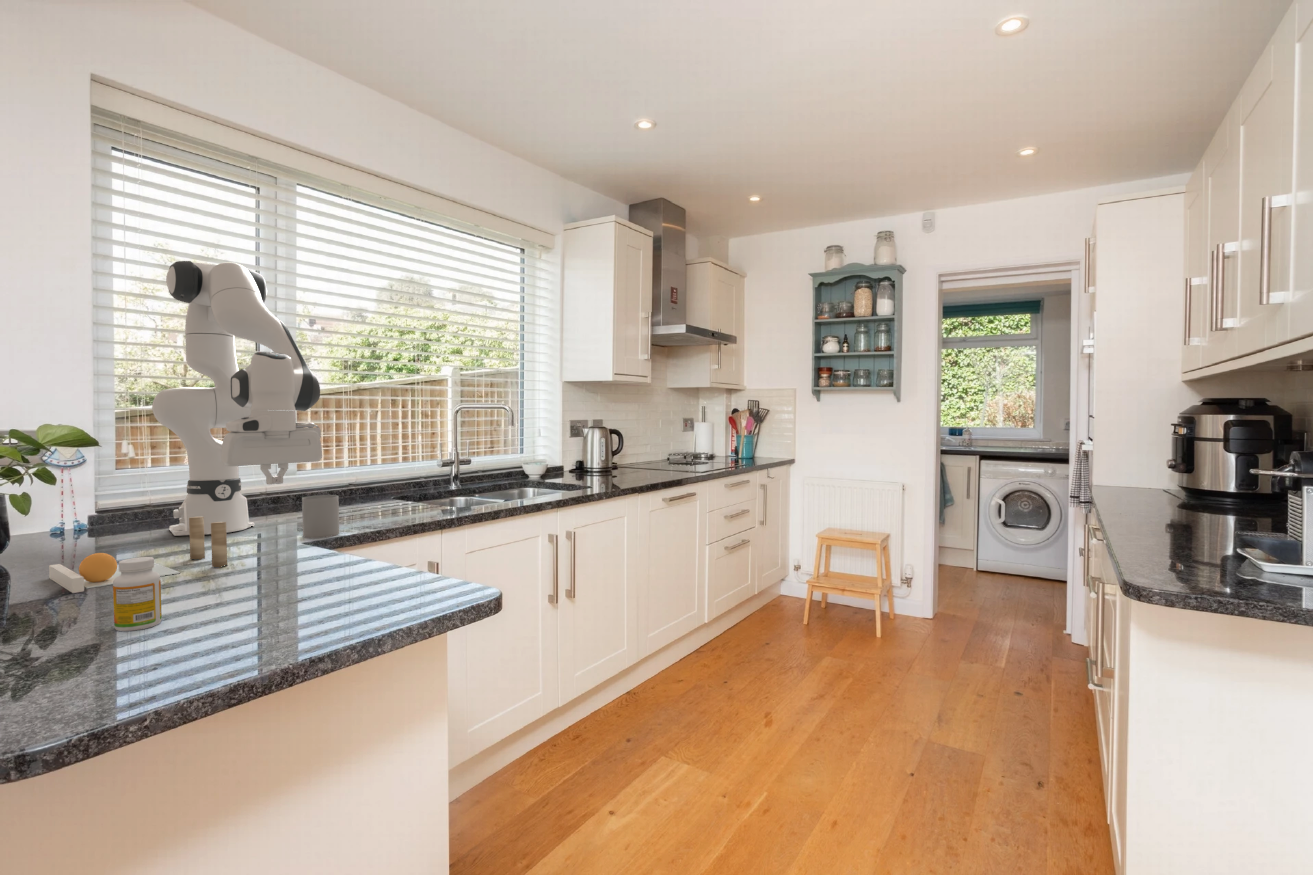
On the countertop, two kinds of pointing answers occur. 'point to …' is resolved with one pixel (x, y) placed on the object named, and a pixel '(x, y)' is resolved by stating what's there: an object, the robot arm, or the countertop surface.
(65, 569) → the wall
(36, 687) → the countertop surface
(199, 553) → the post
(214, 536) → the post
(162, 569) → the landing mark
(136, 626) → the supplement bottle
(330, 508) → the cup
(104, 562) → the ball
